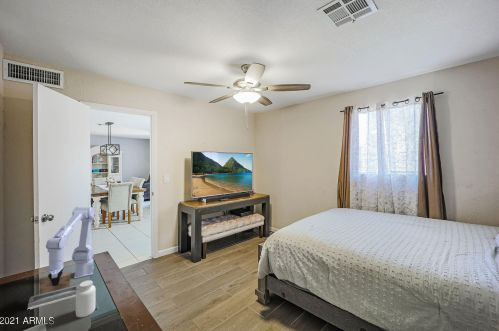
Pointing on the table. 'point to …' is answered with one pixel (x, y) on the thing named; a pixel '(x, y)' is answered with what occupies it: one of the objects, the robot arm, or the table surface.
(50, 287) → the door panel
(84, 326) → the table surface
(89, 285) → the pill bottle
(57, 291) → the track
